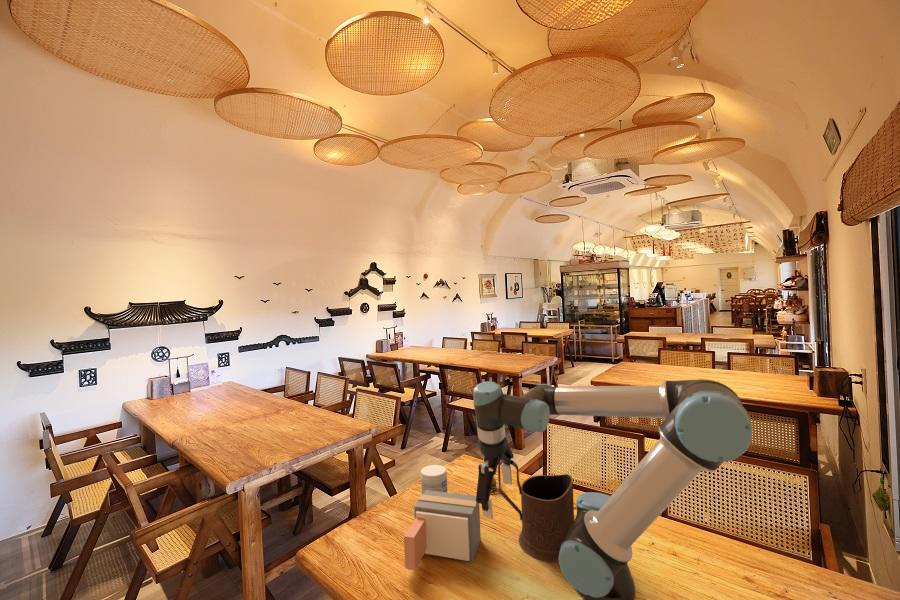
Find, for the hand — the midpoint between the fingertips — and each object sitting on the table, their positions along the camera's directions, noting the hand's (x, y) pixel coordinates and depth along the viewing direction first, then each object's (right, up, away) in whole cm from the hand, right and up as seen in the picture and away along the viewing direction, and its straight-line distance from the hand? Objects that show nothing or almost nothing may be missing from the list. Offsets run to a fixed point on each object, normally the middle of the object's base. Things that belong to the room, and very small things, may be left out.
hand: (498, 499), depth 108 cm
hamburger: (+2, -19, +41) cm, 46 cm away
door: (-17, -18, -2) cm, 25 cm away
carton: (-14, -19, +8) cm, 25 cm away
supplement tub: (-19, -19, +28) cm, 39 cm away
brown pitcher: (+14, -18, +8) cm, 24 cm away
